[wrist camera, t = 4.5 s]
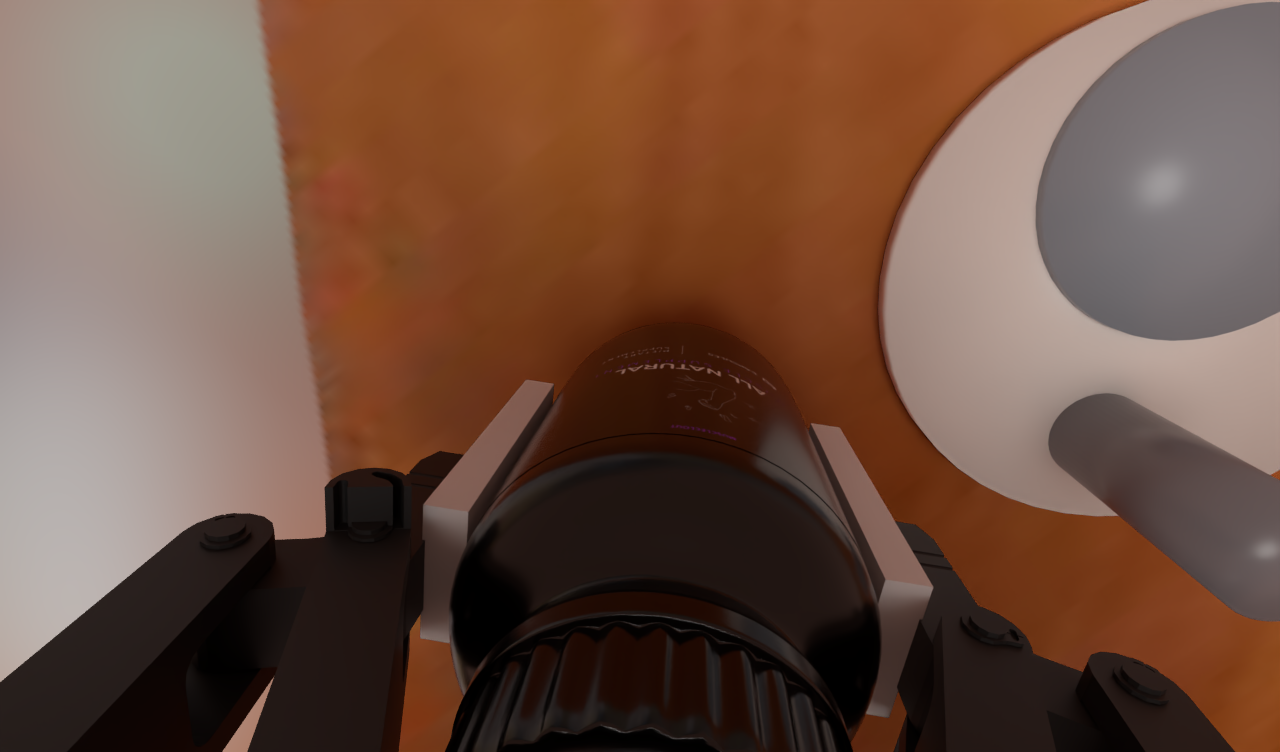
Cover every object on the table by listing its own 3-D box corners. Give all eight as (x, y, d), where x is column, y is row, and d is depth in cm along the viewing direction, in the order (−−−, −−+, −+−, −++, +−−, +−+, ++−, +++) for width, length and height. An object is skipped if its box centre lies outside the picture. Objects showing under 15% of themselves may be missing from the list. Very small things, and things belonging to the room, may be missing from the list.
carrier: (1273, 533, 22) (1576, 726, 14) (828, 464, 23) (896, 616, 15) (1555, 33, 17) (2272, -75, 9) (961, -42, 17) (1171, -200, 10)
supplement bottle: (731, 270, 16) (848, 508, 5) (833, 483, 18) (1107, 1049, 6) (510, 382, 17) (171, 778, 6) (623, 569, 19) (531, 1160, 8)
